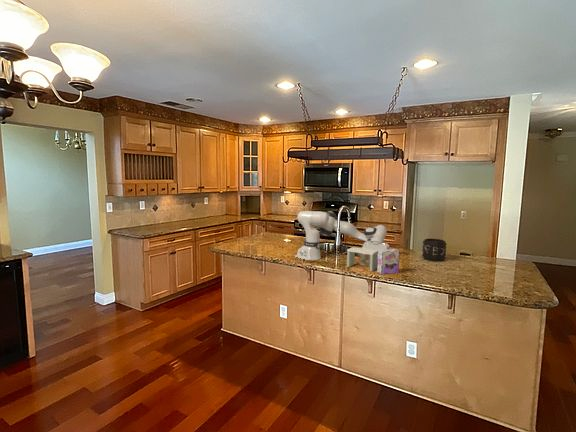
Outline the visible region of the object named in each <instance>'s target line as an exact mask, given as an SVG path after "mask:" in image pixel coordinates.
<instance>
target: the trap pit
mask: <svg viewBox="0 0 576 432" xmlns="http://www.w3.org/2000/svg"><path fill="white" fill-rule="evenodd" d="M350 270H353V271H358V272H359V271H360V272H365V269H361V268H360V269H359V268H355V267H351V268H350Z"/></svg>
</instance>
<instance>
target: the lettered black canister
mask: <svg viewBox="0 0 576 432" xmlns="http://www.w3.org/2000/svg"><path fill="white" fill-rule="evenodd" d="M446 254H447V243H446V241H445V240H444V239H440V238H424V240H423V241H422V254H421V257H422V258H423V259H424V260H425V261H429V262H439V263H440V262H443V261H445V259H446Z"/></svg>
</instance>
